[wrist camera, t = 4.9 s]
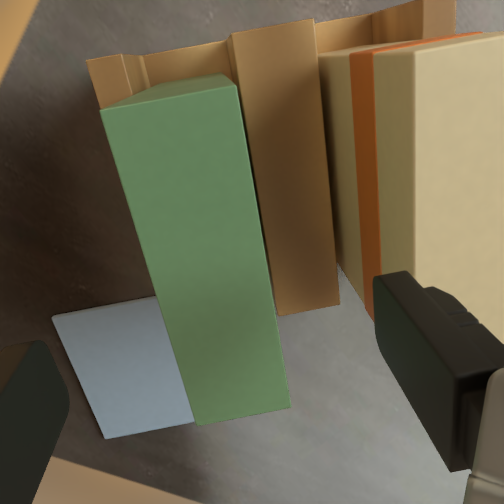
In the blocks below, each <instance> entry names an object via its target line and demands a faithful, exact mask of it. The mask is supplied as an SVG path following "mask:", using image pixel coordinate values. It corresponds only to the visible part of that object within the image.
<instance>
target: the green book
mask: <svg viewBox="0 0 504 504" xmlns="http://www.w3.org/2000/svg"><path fill="white" fill-rule="evenodd" d="M99 113H100V116H101V119H102V123H103V126H104V129H105V132H106V136H107V139H108V142H109V145H110V148H111V152H112V155H113V158H114V161H115V165H116V168H117V171H118V174H119V178H120V181H121V184H122V187H123V191H124V194H125V197H126V200H127V203H128V207H129V210H130V213H131V216H132V220H133V223H134V226H135V229H136V233H137V236H138V239H139V242H140V245H141V249H142V252H143V255H144V258H145V262H146V265H147V268H148V271H149V275H150V278H151V281H152V284H153V288H154V291H155V294H156V297H157V300H158V304H159V307H160V310H161V313H162V317H163V320H164V323H165V326H166V330H167V333H168V336H169V339H170V343H171V346H172V349H173V352H174V355H175V359H176V362H177V365H178V368H179V372H180V375H181V378H182V381H183V385H184V388H185V391H186V394H187V397H188V401H189V404H190V407H191V410H192V414H193V417H194V420H195V423H196V426H201V425H206V424H211V423H216V422H221V421H226V420H231V419H236V418H241V417H246V416H251V415H256V414H261V413H266V412H271V411H276V410H281V409H286V408H291V401H290V395H289V389H288V383H287V377H286V372H285V366H284V360H283V354H282V348H281V342H280V336H279V331H278V325H277V319H276V313H275V307H274V301H273V296H272V290H271V284H270V278H269V272H268V266H267V261H266V255H265V249H264V243H263V237H262V231H261V225H260V220H259V214H258V208H257V202H256V196H255V190H254V185H253V179H252V173H251V167H250V161H249V155H248V149H247V144H246V138H245V132H244V126H243V120H242V114H241V109H240V103H239V97H238V91H237V86H236V85H235V84H234V83H233V82H232V81H231V80H230V79H229V78H227V77H226V76H225V75H224V74H223V73H222V72H218V73H213V74H207V75H202V76H196V77H191V78H186V79H180V80H175V81H170V82H164V83H160V84H157V85H155V86H153V87H151V88H148V89H146V90H144V91H141V92H139V93H137V94H135V95H132V96H130V97H128V98H126V99H123V100H121V101H119V102H117V103H114V104H112V105H110V106H108V107H105V108H103V109H101V110H99Z"/></svg>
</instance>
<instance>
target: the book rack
mask: <svg viewBox="0 0 504 504" xmlns="http://www.w3.org/2000/svg"><path fill="white" fill-rule="evenodd" d="M455 28H456V0H414V1H411V2H407V3H404V4H401V5H397V6H394V7H391V8H387V9H384V10H380V11H377V12H374V13H369V14H364V15H359V16H353V17H348V18H342V19H337V20H332V21H326V22H321V23H315V22H314V19H313V18H311V19H306V20H300V21H295V22H289V23H284V24H279V25H273V26H268V27H262V28H257V29H252V30H246V31H241V32H235V33H232V34H231V35H230V36H229V37H228V38H227V40H224V41H218V42H213V43H207V44H202V45H197V46H191V47H186V48H180V49H175V50H170V51H164V52H159V53H153V54H148V55H143V56H141V55H129V54H116V55H111V56H106V57H100V58H95V59H89V60H86V64H87V67H88V71H89V74H90V77H91V80H92V84H93V87H94V90H95V93H96V97H97V100H98V103H99V106H100V110H101V109H103V108H105V107H108V106H110V105H112V104H114V103H117V102H119V101H121V100H123V99H126V98H128V97H130V96H132V95H135V94H137V93H139V92H141V91H144V90H146V89H148V88H151V87H153V86H155V85H157V84H160V83H164V82H170V81H175V80H180V79H186V78H191V77H196V76H202V75H207V74H213V73H218V72H222V73H223V74H224V75H225V76H226V77H227V78H229V79H230V80H231V81H232V82H233V83H234V84H235V85H236V86H237V91H238V97H239V103H240V109H241V114H242V120H243V126H244V132H245V138H246V144H247V149H248V155H249V161H250V167H251V173H252V179H253V185H254V190H255V196H256V202H257V208H258V214H259V220H260V225H261V231H262V237H263V243H264V249H265V255H266V261H267V266H268V272H269V278H270V284H271V290H272V295H273V299H274V303H275V307H276V310H277V314H278V316H284V315H289V314H294V313H299V312H304V311H309V310H314V309H320V308H325V307H330V306H335V305H340V295H339V284H338V273H337V262H336V251H335V240H334V230H333V219H332V208H331V197H330V186H329V175H328V164H327V153H326V142H325V131H324V120H323V109H322V99H321V88H320V77H319V66H318V55H317V54H320V53H325V52H331V51H336V50H341V49H347V48H352V47H358V46H363V45H373V44H383V43H393V42H402V41H412V40H422V39H428V38H433V37H439V36H444V35H453V34H455Z"/></svg>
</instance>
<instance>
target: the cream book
mask: <svg viewBox="0 0 504 504" xmlns="http://www.w3.org/2000/svg"><path fill="white" fill-rule="evenodd" d="M317 55H318V66H319V77H320V88H321V99H322V109H323V120H324V131H325V142H326V153H327V164H328V175H329V186H330V197H331V208H332V219H333V230H334V240H335V251H336V261H337V262H338V264H339V265H340V267H341V269H342V270H343V272H344V273H345V275H346V276H347V278H348V280H349V281H350V283H351V284H352V286H353V287H354V289H355V290H356V292H357V294H358V295H359V297H360V298H361V300H362V301H363V303H364V305H365V309H366V311H367V312H368V314H369V315H370V317H371V319H372V320H373V322H374V306H373V287H372V283H373V278H374V276H378V275H383V274H388V273H393V272H399V271H404V270H406V271H408V272H409V273H410V274H411V275H412V276H413V277H414V279H415V280H416V281H417V282H418V283H419V284H420V285H421V286H422V287H423V288H426V287H431V286H434V287H436V288H438V289H440V290H442V291H444V292H446V293H449V294H451V295H453V296H454V297H455V298H456V299H457V300H458V301H459V302H460V303H461V304H462V305H463V306H464V307H465V308H466V309H467V311H468V312H471V313H472V314H473V315H474V316H475V317H476V318H477V319H478V320H479V323H482V324H483V325H484V326H485V327H486V328H487V329H488V330H489V331H490V332H491V333H492V334H493V335H494V336H495V337H496V338H497V339H498V340H499V341H500V342H501V343H502V344H504V31H499V32H489V33H483V32H471V33H462V34H453V35H444V36H439V37H433V38H428V39H422V40H412V41H402V42H393V43H383V44H373V45H363V46H358V47H352V48H347V49H341V50H336V51H331V52H325V53H320V54H317Z"/></svg>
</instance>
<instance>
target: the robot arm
mask: <svg viewBox="0 0 504 504" xmlns="http://www.w3.org/2000/svg"><path fill="white" fill-rule="evenodd" d="M372 287H373V306H374V324H375V335H376V339H377V343H378V346H379V349H380V352H381V354H382V356H383V358H384V359H385V361H386V363H387V364H388V366H389V368H390V370H391V371H392V373H393V375H394V376H395V378H396V380H397V382H398V383H399V385H400V387H401V389H402V390H403V392H404V394H405V395H406V397H407V399H408V401H409V402H410V404H411V406H412V408H413V409H414V411H415V413H416V414H417V416H418V418H419V420H420V421H421V423H422V425H423V427H424V428H425V430H426V432H427V433H428V435H429V437H430V439H431V440H432V442H433V444H434V446H435V447H436V449H437V451H438V452H439V454H440V456H441V458H442V459H443V461H444V463H445V465H446V466H447V468H448V470H449V471H450V472H456V471H461V470H466V469H470V470H471V471H472V473H471V474H469V477H468V481H467V486H466V491H465V496H464V502H463V504H504V344H502V343H501V342H500V341H499V340H498V339H497V338H496V337H495V336H494V335H493V334H492V333H491V332H490V331H489V330H488V329H487V328H486V327H485V326H484V325H483V324H482V323H479V320H478V319H477V318H476V317H475V316H474V315H473V314H472V313H471V312H468V311H467V309H466V308H465V307H464V306H463V305H462V304H461V303H460V302H459V301H458V300H457V299H456V298H455V297H454V296H453V295H451V294H449V293H446V292H444V291H442V290H440V289H438V288H436V287H434V286H431V287H426V288H423V287H422V286H421V285H420V284H419V283H418V282H417V281H416V280H415V279H414V277H413V276H412V275H411V274H410V273H409V272H408V271H406V270H404V271H399V272H393V273H388V274H383V275H378V276H374V278H373V283H372ZM68 412H69V394H68V390H67V387H66V385H65V383H64V381H63V379H62V377H61V374H60V372H59V370H58V368H57V366H56V364H55V362H54V359H53V357H52V355H51V353H50V351H49V349H48V347H47V345H46V344H45V343H44V342H43V341H41V340H36V341H31V342H26V343H21V344H16V345H11V346H7V347H5V348H4V349H3V350H2V351H1V352H0V504H32V502H33V499H34V497H35V494H36V492H37V489H38V487H39V484H40V482H41V480H42V477H43V475H44V472H45V470H46V467H47V465H48V462H49V460H50V457H51V455H52V453H53V450H54V448H55V445H56V443H57V440H58V438H59V435H60V433H61V430H62V428H63V426H64V423H65V421H66V418H67V415H68Z"/></svg>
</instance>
